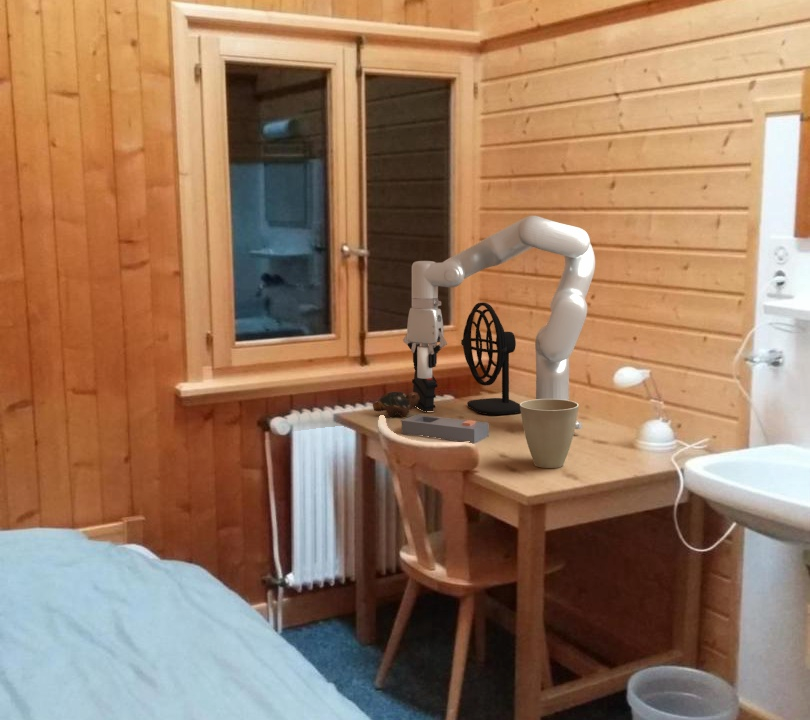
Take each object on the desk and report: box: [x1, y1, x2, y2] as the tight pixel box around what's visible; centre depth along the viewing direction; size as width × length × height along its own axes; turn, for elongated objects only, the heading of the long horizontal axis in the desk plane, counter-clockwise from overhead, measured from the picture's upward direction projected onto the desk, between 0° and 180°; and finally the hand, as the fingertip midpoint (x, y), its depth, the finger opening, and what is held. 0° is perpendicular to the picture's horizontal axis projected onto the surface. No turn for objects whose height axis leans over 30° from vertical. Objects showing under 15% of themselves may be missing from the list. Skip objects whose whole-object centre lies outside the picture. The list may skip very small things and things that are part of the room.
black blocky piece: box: [411, 365, 438, 412], centre depth 318 cm, size 4×13×15 cm, turn 22°
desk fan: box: [460, 301, 521, 416], centre depth 315 cm, size 27×18×35 cm, turn 17°
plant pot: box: [519, 398, 579, 469], centre depth 251 cm, size 15×15×16 cm
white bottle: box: [417, 343, 433, 379], centre depth 284 cm, size 4×4×11 cm
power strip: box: [401, 413, 490, 444], centre depth 285 cm, size 24×9×5 cm, turn 59°
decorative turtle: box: [372, 391, 420, 418], centre depth 310 cm, size 10×15×8 cm, turn 87°
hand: (424, 365), depth 285 cm, fingers closed on white bottle, 4 cm apart
